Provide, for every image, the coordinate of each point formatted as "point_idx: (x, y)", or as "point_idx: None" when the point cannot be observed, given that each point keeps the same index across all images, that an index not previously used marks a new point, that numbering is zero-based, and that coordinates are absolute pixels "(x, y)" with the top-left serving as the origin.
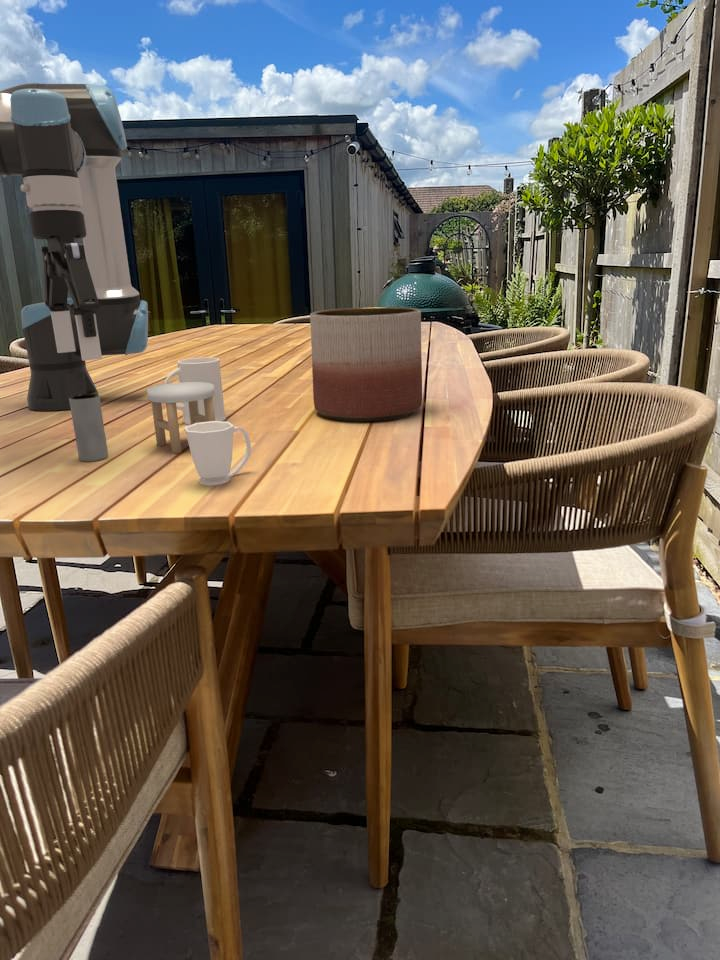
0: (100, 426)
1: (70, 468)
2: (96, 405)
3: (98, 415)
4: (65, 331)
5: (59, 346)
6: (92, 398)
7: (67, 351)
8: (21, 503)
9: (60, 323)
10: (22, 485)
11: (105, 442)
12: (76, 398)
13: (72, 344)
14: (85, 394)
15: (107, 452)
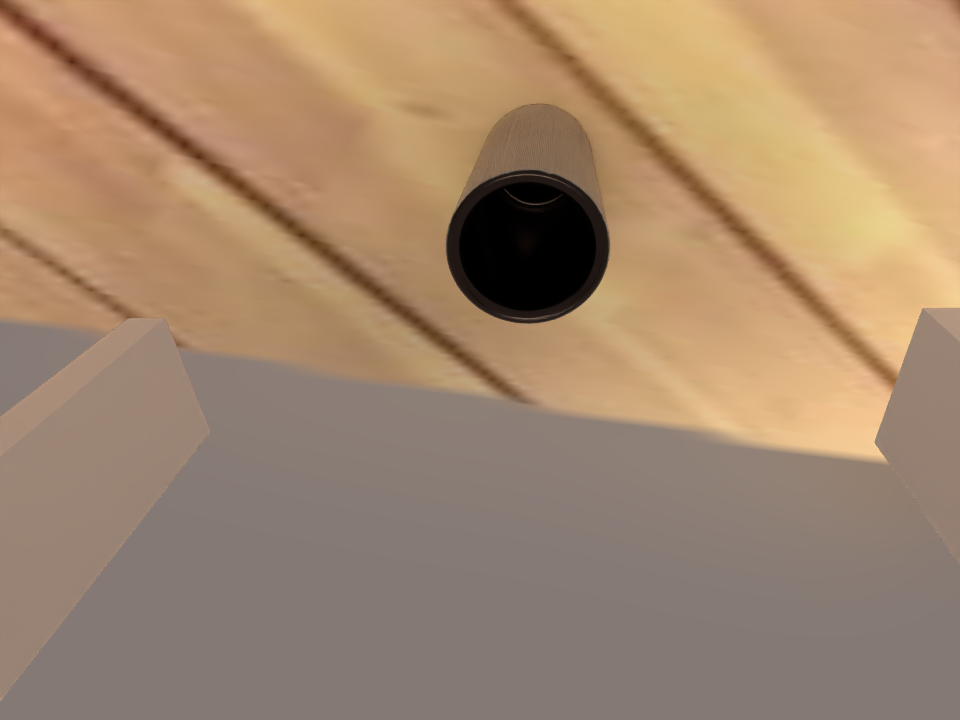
0: (588, 158)
1: (615, 261)
2: (596, 193)
3: (591, 175)
4: (63, 489)
5: (180, 454)
6: (605, 225)
7: (187, 380)
8: (858, 432)
9: (19, 591)
10: (690, 401)
11: (570, 124)
12: (473, 274)
13: (132, 366)
14: (460, 228)
15: (563, 112)
